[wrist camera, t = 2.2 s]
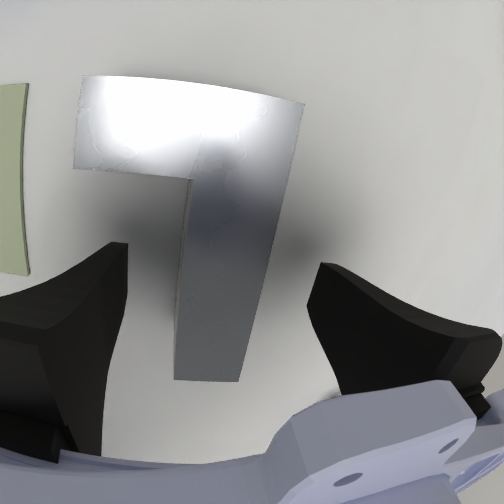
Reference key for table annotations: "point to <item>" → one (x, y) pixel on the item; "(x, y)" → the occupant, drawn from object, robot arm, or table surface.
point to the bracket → (201, 195)
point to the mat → (12, 180)
